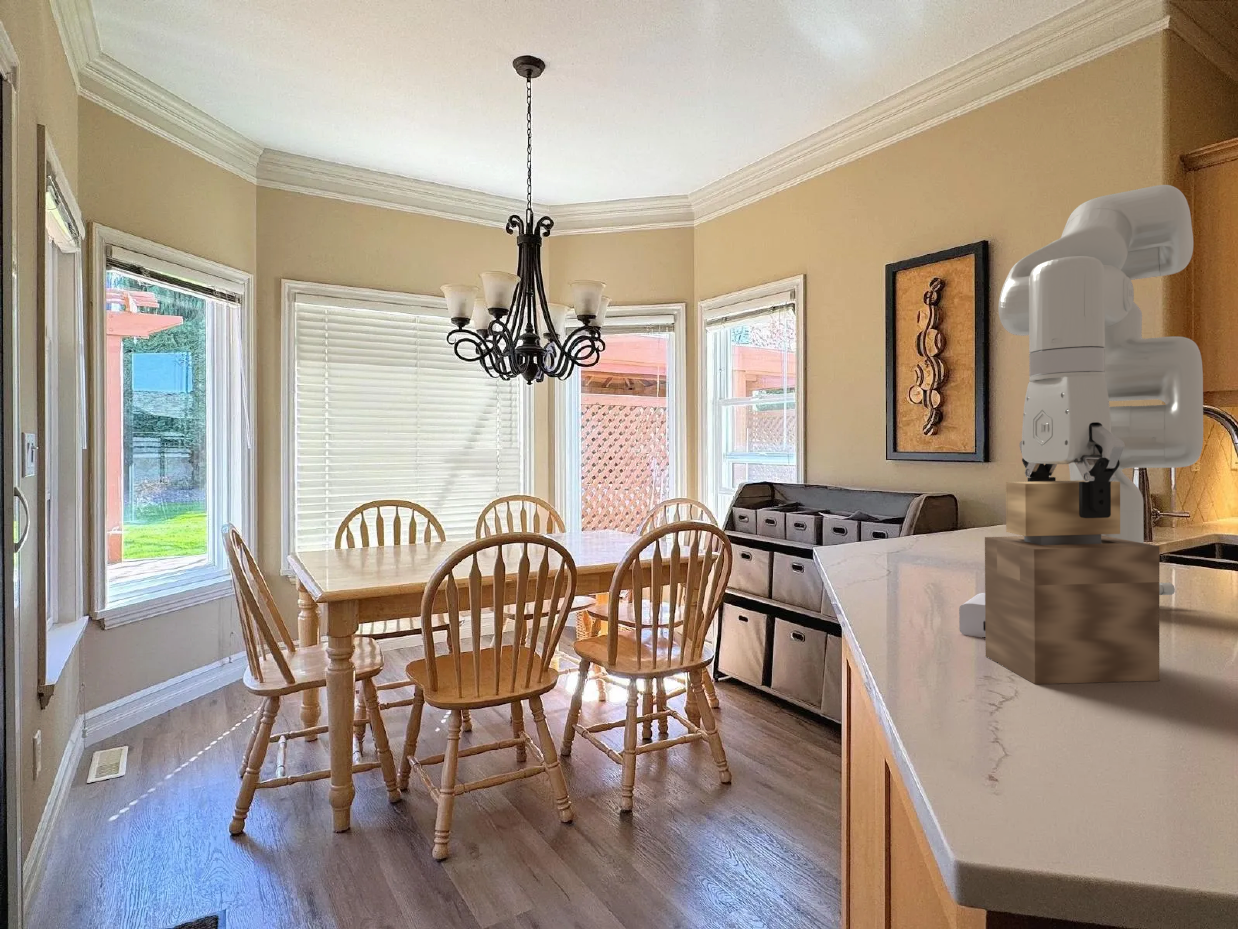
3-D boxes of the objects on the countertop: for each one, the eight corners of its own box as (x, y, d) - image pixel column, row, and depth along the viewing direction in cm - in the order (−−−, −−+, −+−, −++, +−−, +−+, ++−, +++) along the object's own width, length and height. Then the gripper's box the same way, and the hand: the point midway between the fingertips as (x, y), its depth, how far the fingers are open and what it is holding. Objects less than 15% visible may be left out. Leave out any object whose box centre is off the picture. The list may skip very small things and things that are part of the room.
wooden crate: (1096, 653, 91) (1095, 534, 90) (1159, 680, 80) (1159, 546, 80) (985, 656, 91) (984, 537, 90) (1034, 684, 80) (1034, 549, 80)
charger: (1054, 623, 107) (1034, 646, 95) (985, 614, 113) (959, 636, 101) (1054, 591, 107) (1034, 610, 95) (985, 584, 112) (959, 602, 101)
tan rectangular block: (1096, 571, 87) (1096, 480, 87) (1120, 577, 83) (1120, 481, 83) (1006, 573, 87) (1006, 482, 87) (1025, 579, 83) (1025, 484, 83)
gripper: (994, 374, 93) (995, 507, 94) (1083, 359, 76) (1083, 522, 76) (1052, 373, 93) (1052, 506, 94) (1154, 357, 76) (1154, 520, 76)
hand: (1066, 513), depth 85 cm, fingers open, 9 cm apart
